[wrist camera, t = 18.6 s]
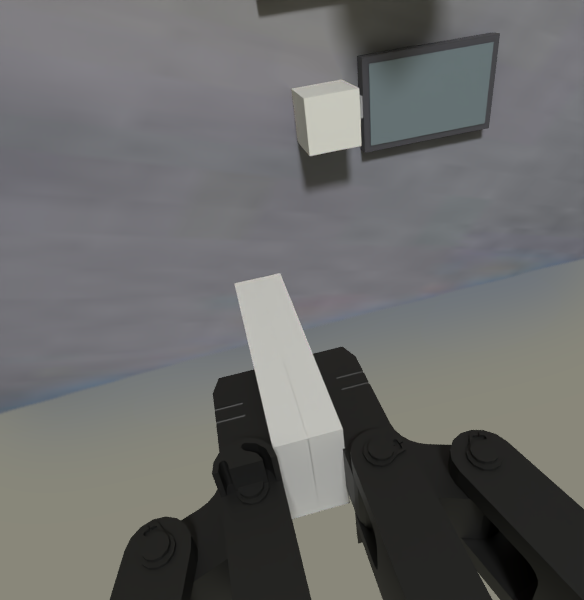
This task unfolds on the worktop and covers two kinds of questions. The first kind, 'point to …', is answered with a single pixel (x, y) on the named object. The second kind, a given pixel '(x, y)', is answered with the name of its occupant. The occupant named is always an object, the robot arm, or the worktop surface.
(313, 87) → the white cube
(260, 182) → the worktop surface
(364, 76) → the phone
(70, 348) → the worktop surface
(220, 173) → the worktop surface
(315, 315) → the worktop surface
